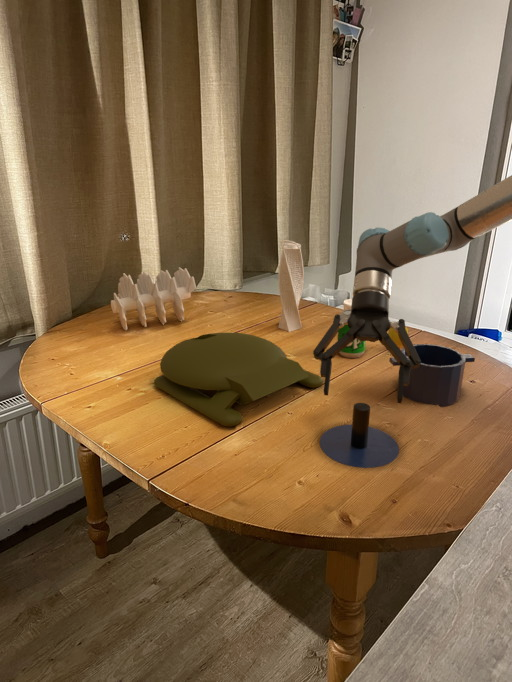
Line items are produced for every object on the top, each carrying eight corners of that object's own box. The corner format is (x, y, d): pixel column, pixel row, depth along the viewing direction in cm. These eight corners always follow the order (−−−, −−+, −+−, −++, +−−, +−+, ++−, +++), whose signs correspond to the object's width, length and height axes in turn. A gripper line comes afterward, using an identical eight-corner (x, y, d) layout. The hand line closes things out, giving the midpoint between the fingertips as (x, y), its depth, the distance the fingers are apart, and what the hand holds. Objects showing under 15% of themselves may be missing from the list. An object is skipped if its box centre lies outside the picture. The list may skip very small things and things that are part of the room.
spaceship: (327, 385, 119) (329, 347, 115) (228, 433, 99) (227, 388, 96) (232, 346, 143) (231, 314, 139) (137, 378, 123) (133, 341, 120)
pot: (482, 404, 110) (489, 364, 107) (399, 409, 108) (403, 369, 105) (452, 378, 123) (458, 342, 119) (378, 382, 121) (381, 345, 117)
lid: (411, 470, 88) (417, 424, 84) (329, 476, 86) (332, 429, 83) (382, 427, 101) (386, 386, 98) (311, 431, 100) (313, 390, 96)
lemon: (404, 354, 137) (407, 326, 135) (384, 350, 140) (386, 323, 137) (409, 347, 142) (412, 320, 139) (389, 344, 144) (392, 317, 142)
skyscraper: (288, 334, 153) (290, 242, 143) (272, 327, 158) (273, 238, 148) (306, 328, 157) (310, 239, 147) (290, 322, 163) (292, 236, 153)
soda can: (334, 357, 135) (336, 315, 131) (339, 347, 142) (341, 307, 138) (362, 360, 133) (365, 318, 129) (365, 350, 140) (369, 309, 136)
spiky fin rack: (115, 338, 161) (187, 322, 172) (125, 331, 145) (203, 313, 156) (100, 283, 161) (173, 271, 172) (109, 270, 145) (189, 257, 156)
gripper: (432, 311, 103) (428, 410, 94) (311, 303, 108) (298, 396, 100) (438, 293, 96) (434, 398, 88) (308, 285, 101) (294, 383, 93)
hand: (362, 397), depth 94 cm, fingers open, 13 cm apart
